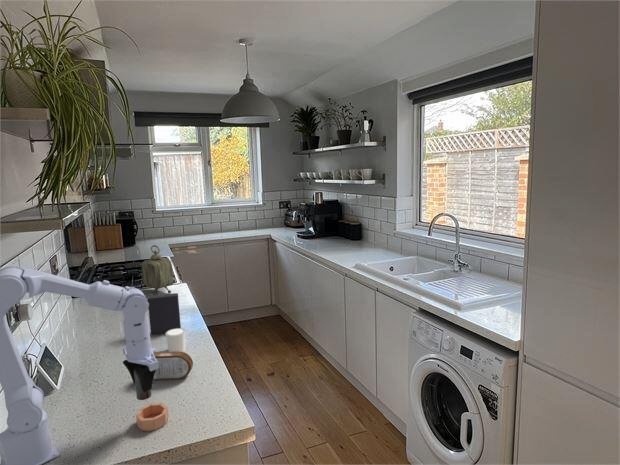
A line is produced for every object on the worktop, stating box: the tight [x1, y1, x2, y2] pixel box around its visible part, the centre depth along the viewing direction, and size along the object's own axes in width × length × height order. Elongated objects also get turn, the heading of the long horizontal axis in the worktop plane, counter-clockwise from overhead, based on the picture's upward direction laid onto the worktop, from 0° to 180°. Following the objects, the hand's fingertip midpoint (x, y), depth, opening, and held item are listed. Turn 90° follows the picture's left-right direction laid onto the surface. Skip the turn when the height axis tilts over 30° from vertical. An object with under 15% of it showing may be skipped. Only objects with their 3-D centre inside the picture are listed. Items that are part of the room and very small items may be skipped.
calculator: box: [146, 292, 182, 336], centre depth 160 cm, size 11×4×15 cm, turn 104°
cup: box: [135, 402, 170, 432], centre depth 105 cm, size 7×7×3 cm
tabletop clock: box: [140, 244, 174, 295], centre depth 207 cm, size 14×9×25 cm, turn 53°
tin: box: [153, 351, 194, 381], centre depth 126 cm, size 15×3×8 cm, turn 92°
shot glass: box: [164, 327, 187, 352], centre depth 144 cm, size 7×7×7 cm
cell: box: [134, 371, 153, 401], centre depth 103 cm, size 4×4×8 cm
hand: (143, 387), depth 104 cm, fingers closed on cell, 3 cm apart
